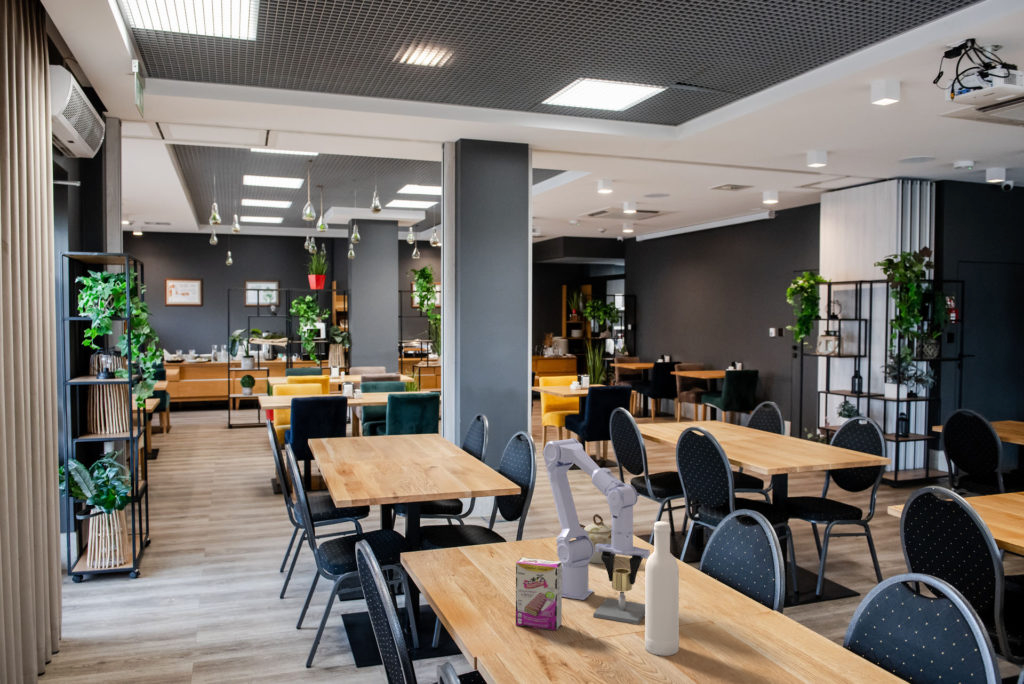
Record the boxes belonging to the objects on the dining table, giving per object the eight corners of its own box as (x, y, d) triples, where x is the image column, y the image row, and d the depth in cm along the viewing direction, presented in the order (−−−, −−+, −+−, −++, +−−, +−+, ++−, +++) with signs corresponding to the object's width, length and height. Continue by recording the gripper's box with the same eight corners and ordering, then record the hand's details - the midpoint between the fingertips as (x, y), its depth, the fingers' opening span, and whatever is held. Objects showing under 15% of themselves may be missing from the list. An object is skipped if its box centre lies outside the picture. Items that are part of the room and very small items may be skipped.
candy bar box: (514, 626, 191) (514, 562, 190) (521, 618, 195) (521, 556, 195) (557, 631, 187) (557, 566, 187) (562, 624, 192) (562, 560, 191)
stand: (593, 616, 197) (593, 596, 196) (607, 601, 207) (607, 582, 207) (638, 624, 191) (638, 603, 191) (649, 608, 202) (649, 588, 202)
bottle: (685, 654, 174) (685, 525, 174) (654, 658, 172) (654, 528, 171) (668, 640, 182) (668, 517, 181) (639, 644, 180) (639, 520, 179)
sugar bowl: (560, 559, 246) (560, 513, 246) (587, 549, 257) (587, 505, 257) (610, 572, 233) (610, 524, 233) (636, 560, 244) (636, 515, 244)
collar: (609, 589, 198) (609, 572, 198) (615, 583, 203) (615, 566, 203) (628, 592, 196) (628, 575, 196) (634, 586, 200) (634, 569, 200)
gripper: (591, 531, 198) (591, 582, 199) (645, 538, 192) (644, 590, 193) (599, 525, 205) (599, 574, 205) (651, 531, 199) (651, 582, 199)
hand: (622, 581), depth 199 cm, fingers closed on collar, 5 cm apart
